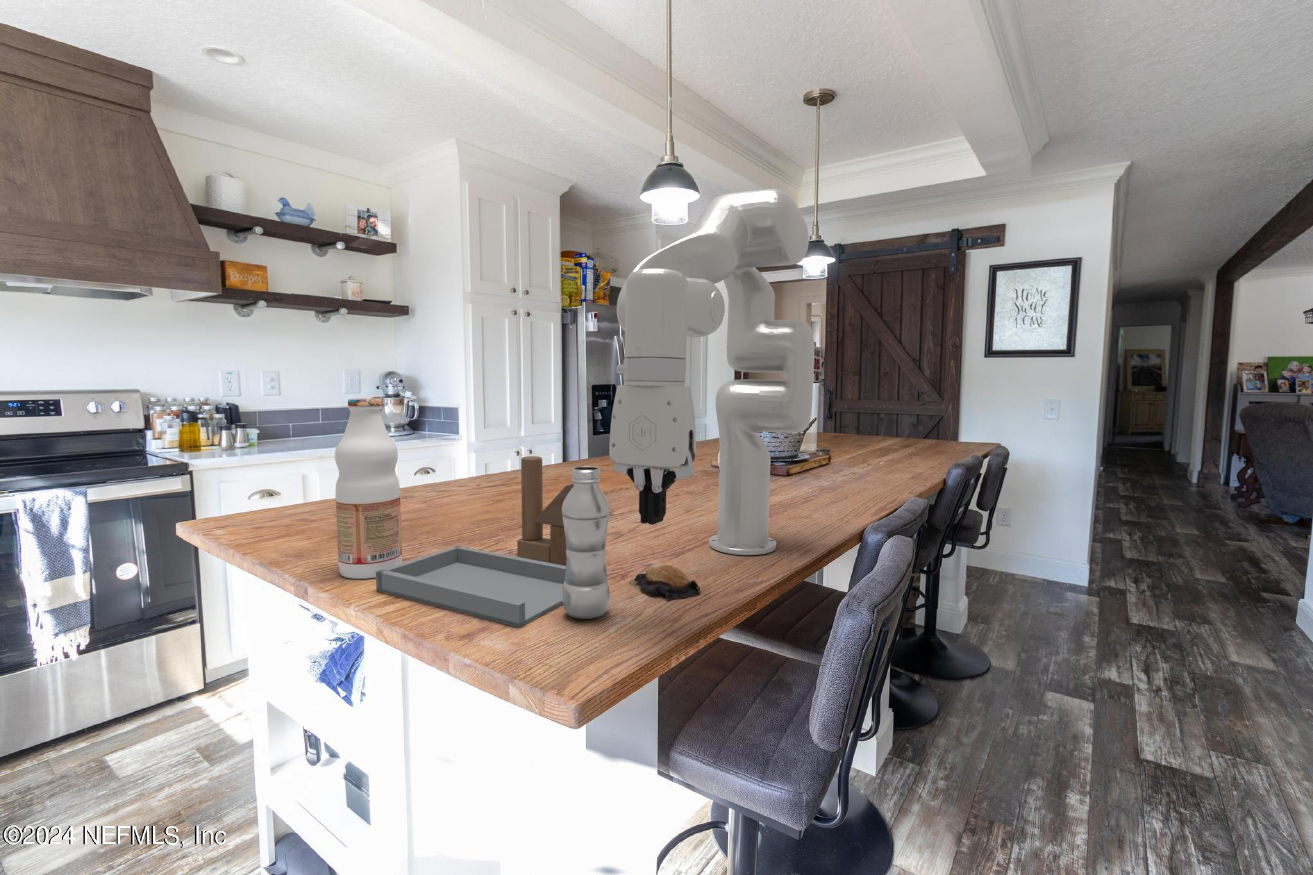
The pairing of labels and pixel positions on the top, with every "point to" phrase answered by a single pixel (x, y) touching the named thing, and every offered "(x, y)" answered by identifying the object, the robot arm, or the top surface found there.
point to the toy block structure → (540, 517)
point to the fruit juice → (367, 494)
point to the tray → (478, 584)
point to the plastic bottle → (585, 546)
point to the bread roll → (666, 583)
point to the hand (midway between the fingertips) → (652, 521)
